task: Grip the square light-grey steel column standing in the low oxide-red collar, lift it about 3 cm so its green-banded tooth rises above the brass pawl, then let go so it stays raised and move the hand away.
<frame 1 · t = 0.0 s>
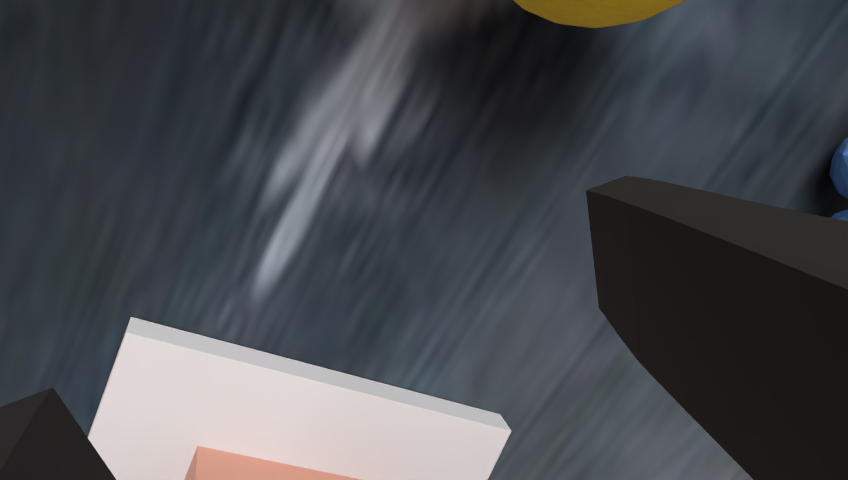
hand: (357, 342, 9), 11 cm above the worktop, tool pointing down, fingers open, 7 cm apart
grapes: (813, 157, 24), on the worktop
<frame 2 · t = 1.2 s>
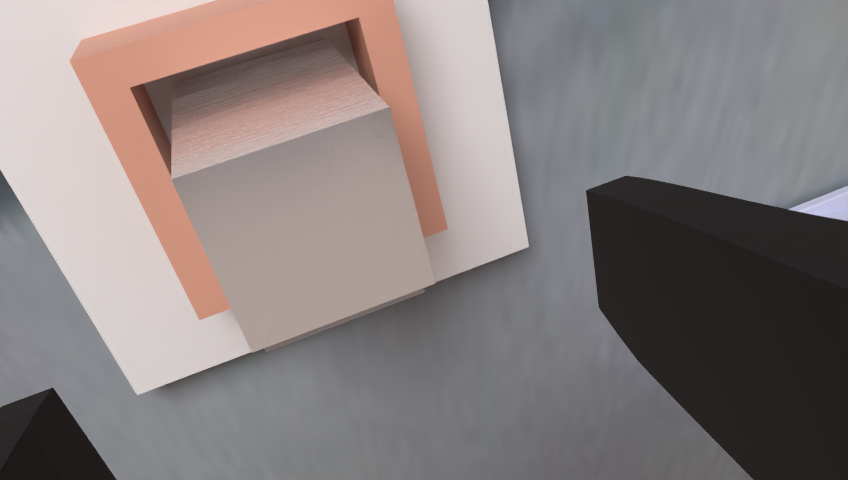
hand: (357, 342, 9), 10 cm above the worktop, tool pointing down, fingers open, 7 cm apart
stand base: (269, 117, 18), on the worktop
column: (294, 180, 14), point 4 cm above the worktop, slide at 0.0 cm
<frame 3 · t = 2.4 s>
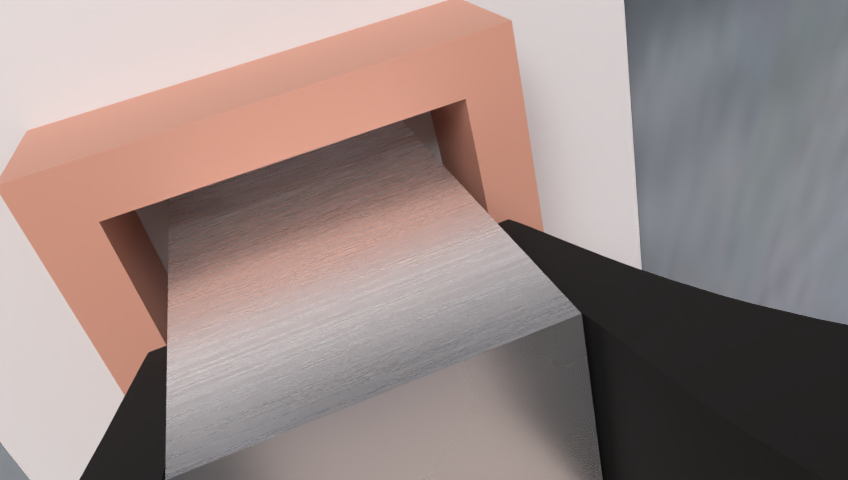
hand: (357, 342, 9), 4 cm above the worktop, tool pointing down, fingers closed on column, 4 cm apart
stand base: (308, 219, 12), on the worktop
column: (363, 357, 9), point 4 cm above the worktop, slide at 0.0 cm, touching gripper
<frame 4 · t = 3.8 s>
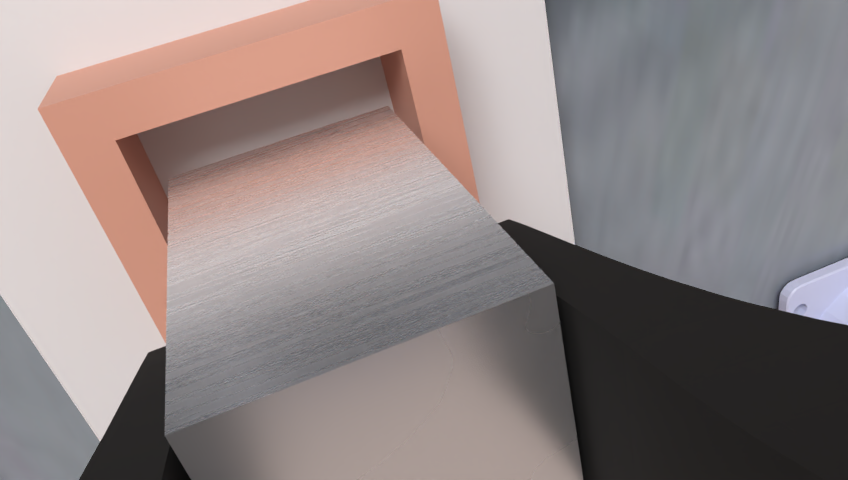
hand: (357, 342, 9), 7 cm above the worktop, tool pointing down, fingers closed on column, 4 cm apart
stand base: (285, 160, 15), on the worktop
column: (354, 335, 9), point 7 cm above the worktop, slide at 2.5 cm, touching gripper
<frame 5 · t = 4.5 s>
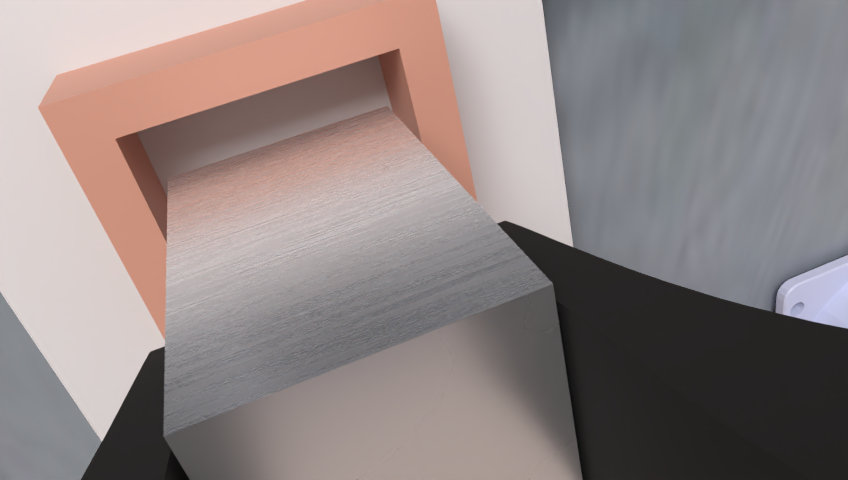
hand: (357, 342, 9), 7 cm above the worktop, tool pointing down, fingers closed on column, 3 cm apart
stand base: (284, 159, 15), on the worktop
column: (353, 336, 9), point 7 cm above the worktop, slide at 2.6 cm, touching gripper
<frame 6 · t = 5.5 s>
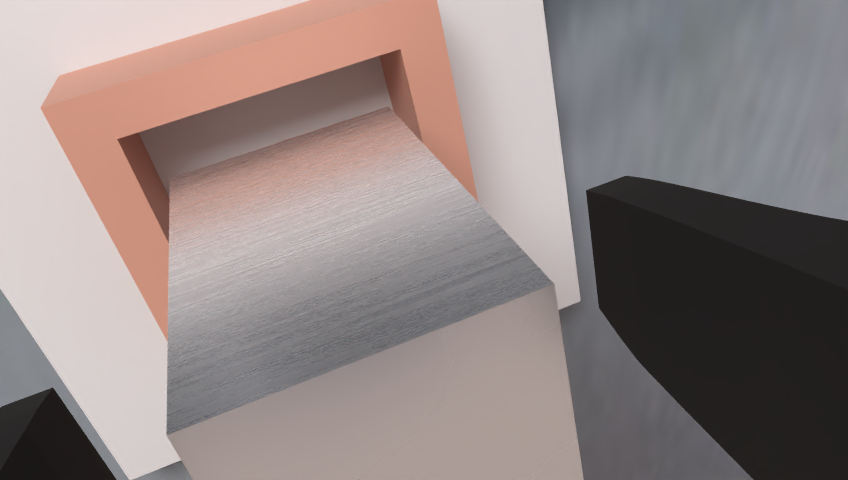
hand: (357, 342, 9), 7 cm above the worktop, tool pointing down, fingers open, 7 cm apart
stand base: (285, 159, 15), on the worktop
column: (355, 336, 9), point 7 cm above the worktop, slide at 2.6 cm
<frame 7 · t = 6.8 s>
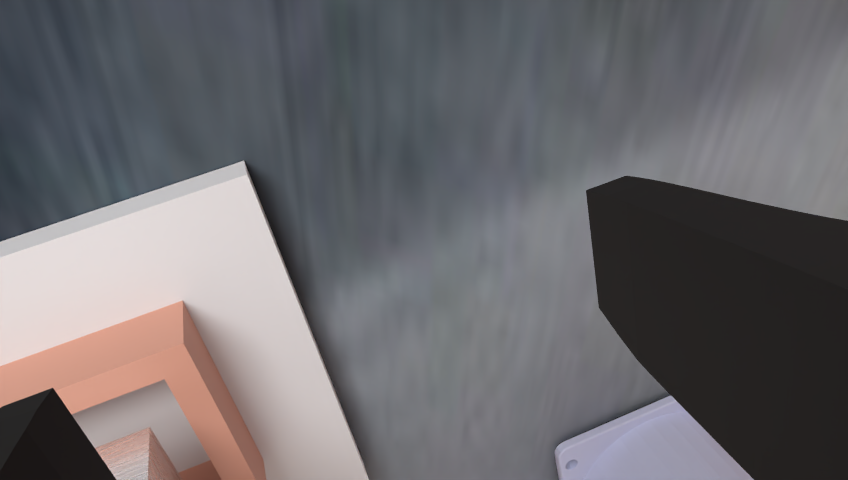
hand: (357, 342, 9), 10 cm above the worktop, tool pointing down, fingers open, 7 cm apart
stand base: (119, 405, 20), on the worktop
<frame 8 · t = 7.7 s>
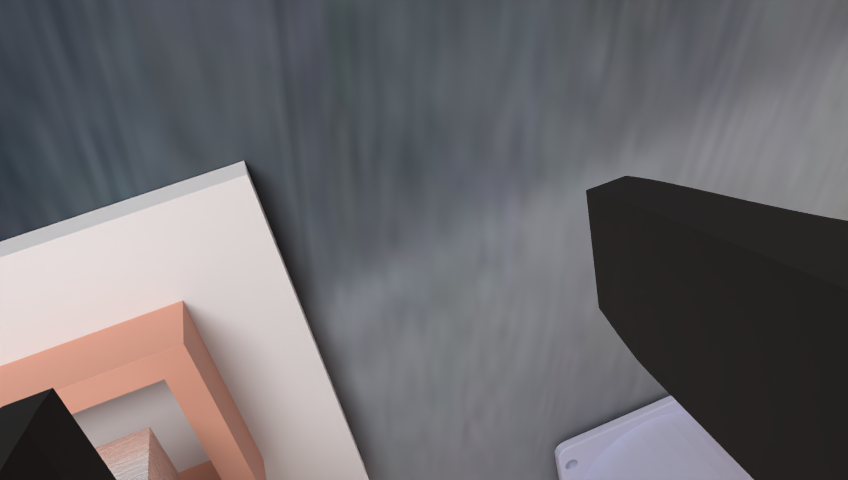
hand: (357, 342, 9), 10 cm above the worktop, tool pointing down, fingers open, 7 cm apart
stand base: (119, 405, 20), on the worktop
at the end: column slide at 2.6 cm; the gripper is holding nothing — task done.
